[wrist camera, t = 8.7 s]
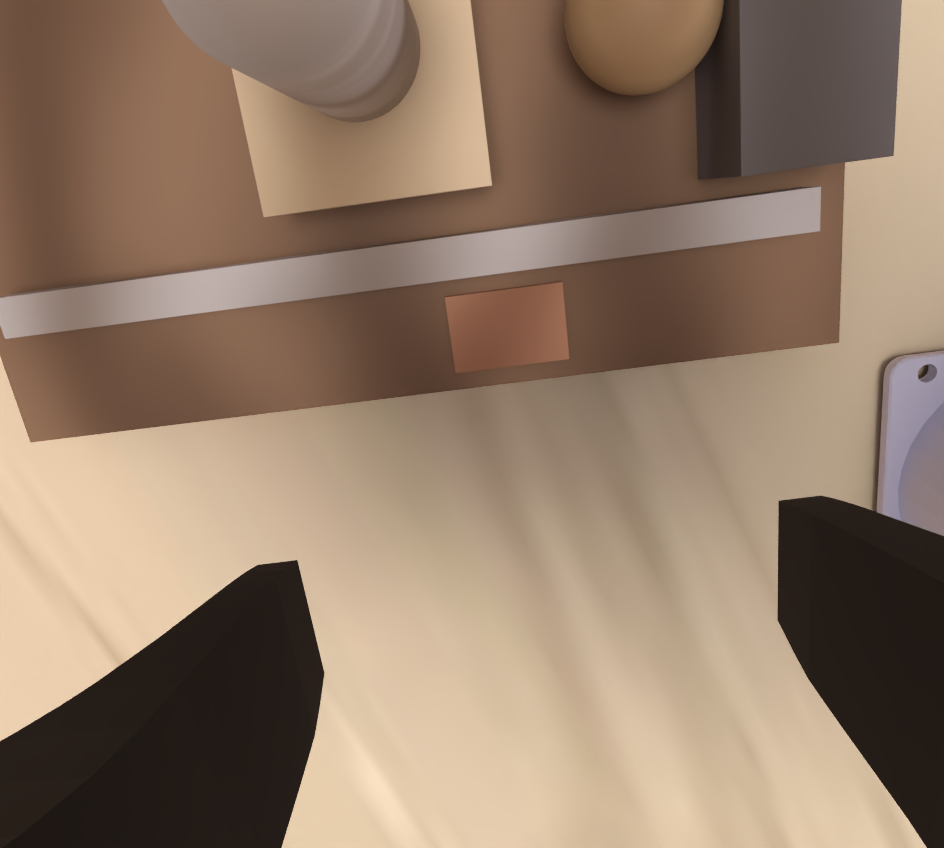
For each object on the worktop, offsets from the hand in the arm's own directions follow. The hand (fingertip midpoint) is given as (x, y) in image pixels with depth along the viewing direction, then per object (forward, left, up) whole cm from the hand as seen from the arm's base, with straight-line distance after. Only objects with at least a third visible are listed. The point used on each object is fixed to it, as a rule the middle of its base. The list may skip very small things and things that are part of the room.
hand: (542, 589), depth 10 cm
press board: (+2, -9, -10) cm, 14 cm away
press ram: (+2, -9, -9) cm, 13 cm away
